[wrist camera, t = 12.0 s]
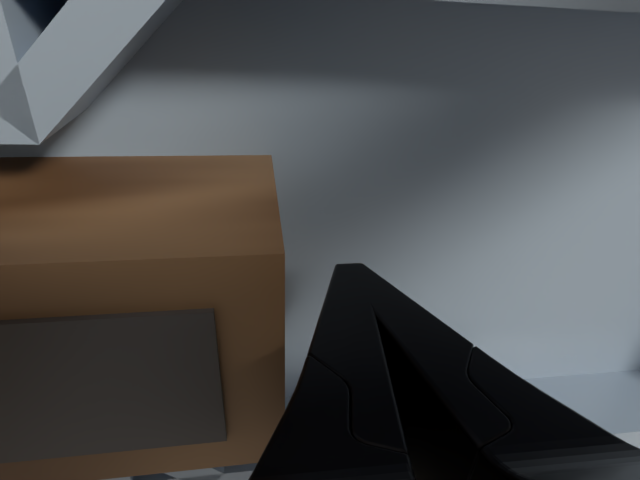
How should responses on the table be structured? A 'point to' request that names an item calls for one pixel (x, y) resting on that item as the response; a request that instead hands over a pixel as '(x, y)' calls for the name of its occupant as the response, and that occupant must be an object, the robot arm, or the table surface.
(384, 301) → the robot arm
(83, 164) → the bar
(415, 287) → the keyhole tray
